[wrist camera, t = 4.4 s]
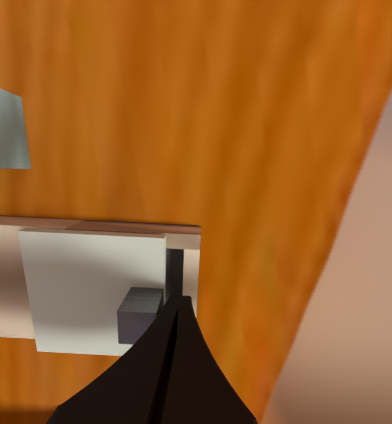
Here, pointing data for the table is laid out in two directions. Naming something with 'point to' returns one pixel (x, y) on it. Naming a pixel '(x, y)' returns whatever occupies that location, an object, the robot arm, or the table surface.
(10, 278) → the sliding lid box
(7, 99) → the teal block
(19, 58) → the table surface
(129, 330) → the sliding cover
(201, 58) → the table surface
